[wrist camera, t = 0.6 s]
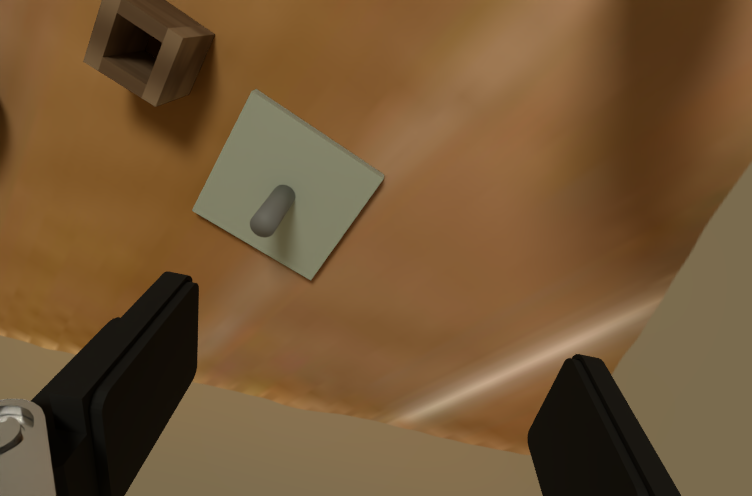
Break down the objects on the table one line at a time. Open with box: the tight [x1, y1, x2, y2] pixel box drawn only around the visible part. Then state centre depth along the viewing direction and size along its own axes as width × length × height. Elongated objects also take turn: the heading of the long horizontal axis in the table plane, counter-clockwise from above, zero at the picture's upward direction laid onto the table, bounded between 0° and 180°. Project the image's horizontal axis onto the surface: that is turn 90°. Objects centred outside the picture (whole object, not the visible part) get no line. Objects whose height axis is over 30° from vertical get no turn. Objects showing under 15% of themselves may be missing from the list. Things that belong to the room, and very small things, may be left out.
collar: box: [83, 0, 215, 107], centre depth 37 cm, size 6×6×6 cm
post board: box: [192, 89, 384, 280], centre depth 41 cm, size 14×14×8 cm
